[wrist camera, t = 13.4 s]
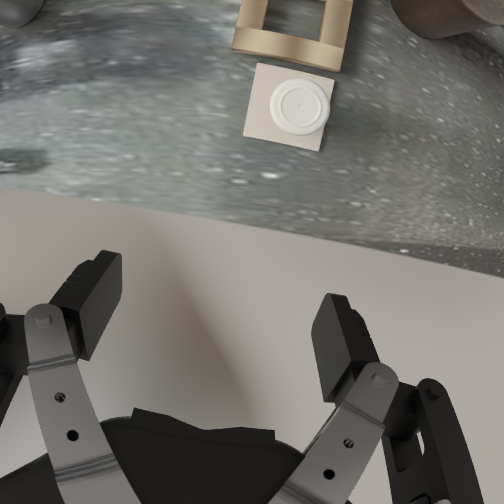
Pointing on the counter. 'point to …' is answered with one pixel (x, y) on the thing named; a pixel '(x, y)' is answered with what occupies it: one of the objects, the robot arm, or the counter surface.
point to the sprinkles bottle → (299, 106)
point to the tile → (258, 110)
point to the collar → (290, 47)
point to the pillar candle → (448, 16)
